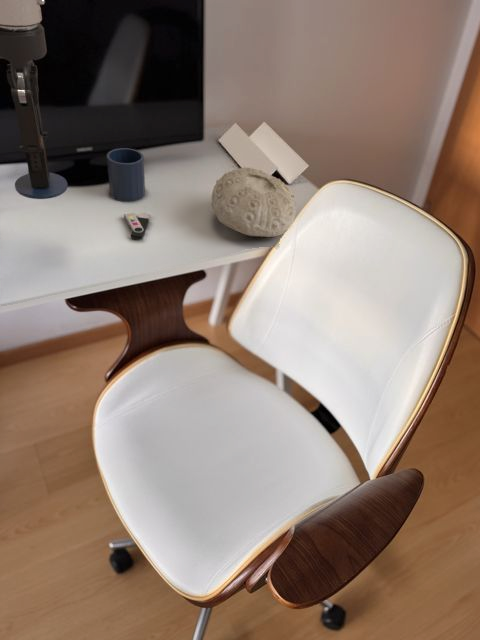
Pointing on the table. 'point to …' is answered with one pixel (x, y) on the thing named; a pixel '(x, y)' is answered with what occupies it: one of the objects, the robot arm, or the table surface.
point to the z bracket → (263, 152)
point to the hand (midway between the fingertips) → (40, 181)
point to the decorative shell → (253, 203)
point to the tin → (126, 174)
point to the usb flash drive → (137, 224)
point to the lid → (55, 188)
